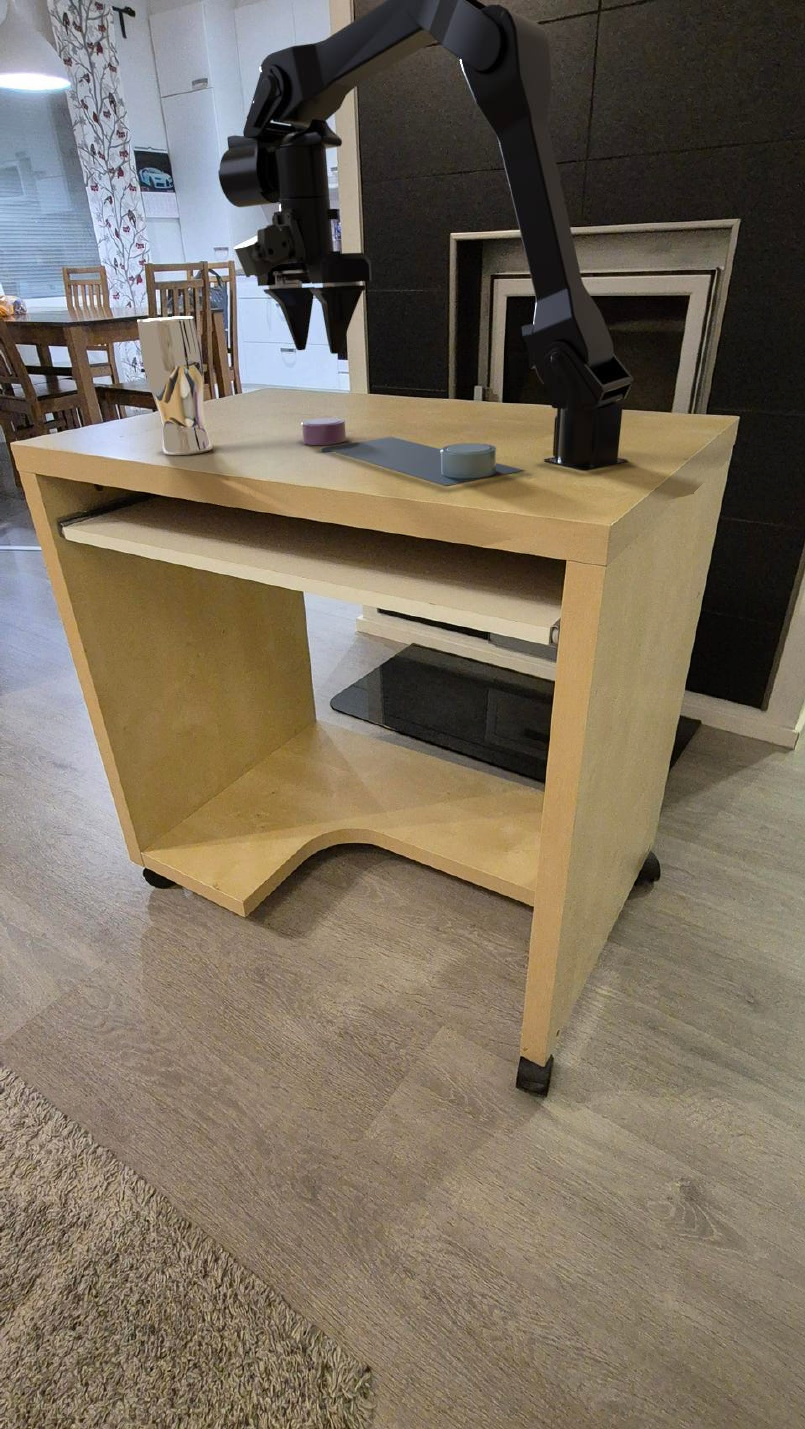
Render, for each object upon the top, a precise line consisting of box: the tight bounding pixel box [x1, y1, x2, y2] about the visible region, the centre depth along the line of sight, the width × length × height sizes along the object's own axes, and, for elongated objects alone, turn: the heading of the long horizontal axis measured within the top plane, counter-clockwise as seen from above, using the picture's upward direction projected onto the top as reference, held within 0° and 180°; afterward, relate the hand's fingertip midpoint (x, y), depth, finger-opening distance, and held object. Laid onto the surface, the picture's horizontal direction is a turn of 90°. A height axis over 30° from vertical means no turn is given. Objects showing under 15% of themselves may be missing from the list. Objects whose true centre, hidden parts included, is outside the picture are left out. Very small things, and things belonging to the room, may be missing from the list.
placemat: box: [321, 436, 525, 487], centre depth 87 cm, size 26×10×1 cm, turn 33°
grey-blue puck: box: [440, 442, 497, 479], centre depth 79 cm, size 6×6×2 cm
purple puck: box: [301, 417, 347, 446], centre depth 100 cm, size 6×6×2 cm
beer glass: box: [137, 316, 213, 456], centre depth 94 cm, size 7×7×15 cm
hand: (317, 351), depth 95 cm, fingers open, 9 cm apart
